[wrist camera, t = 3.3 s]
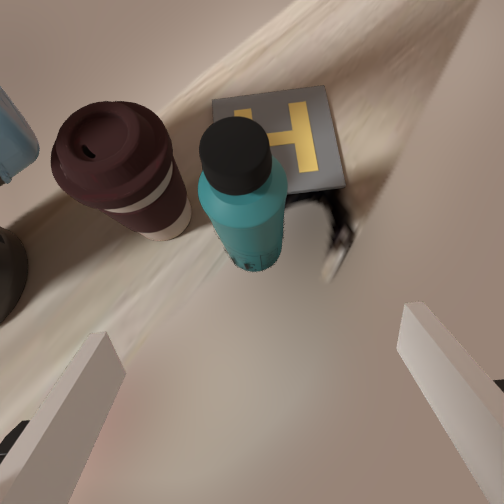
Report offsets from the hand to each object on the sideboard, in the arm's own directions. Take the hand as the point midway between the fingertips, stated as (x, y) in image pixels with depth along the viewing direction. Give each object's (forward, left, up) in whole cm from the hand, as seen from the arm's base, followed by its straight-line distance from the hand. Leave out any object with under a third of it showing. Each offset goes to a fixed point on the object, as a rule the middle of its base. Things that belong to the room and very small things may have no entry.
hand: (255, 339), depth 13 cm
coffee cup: (-11, +16, -19) cm, 28 cm away
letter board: (+4, +25, -19) cm, 32 cm away
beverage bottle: (0, +10, -19) cm, 22 cm away
